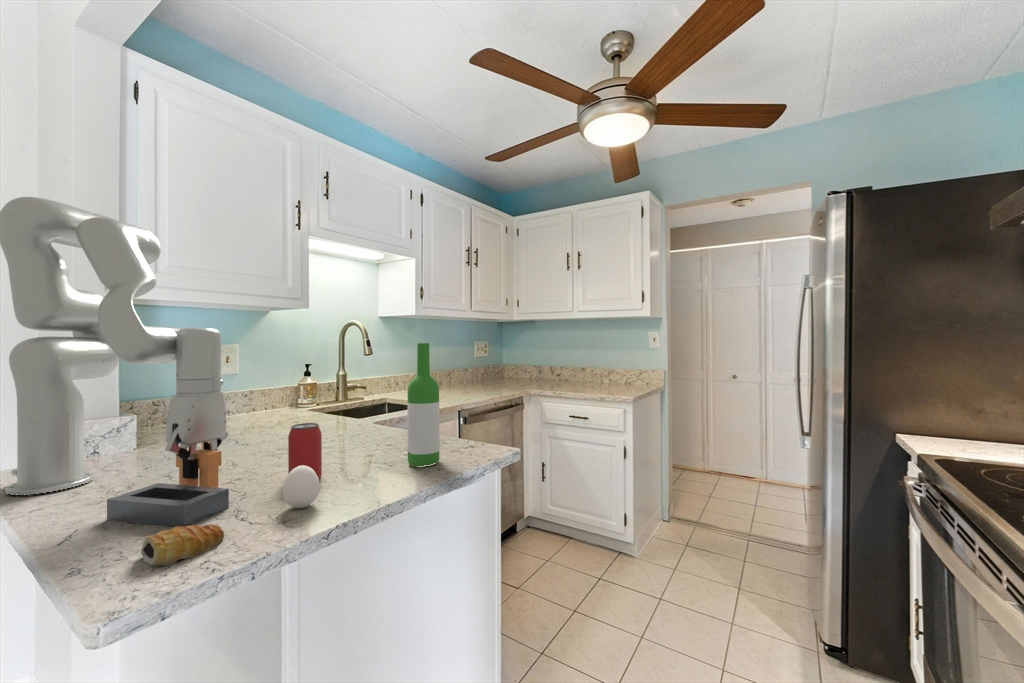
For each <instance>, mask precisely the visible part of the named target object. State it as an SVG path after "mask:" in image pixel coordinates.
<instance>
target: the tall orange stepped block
mask: <svg viewBox="0 0 1024 683" xmlns="http://www.w3.org/2000/svg"><path fill="white" fill-rule="evenodd" d="M187 450H188V451H189V448H187ZM195 459H198V478H196V479H185V478H183V460H182V459H179V456H177V455H176V454H175V467H176V468H178V471H179V472H178V475H179V476H178V485H188V486H201V487H214V488H219V467H220V466H222V450H218V451H215V450H202V449H197V448H196V457H195Z"/></svg>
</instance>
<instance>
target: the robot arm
mask: <svg viewBox="0 0 1024 683" xmlns="http://www.w3.org/2000/svg"><path fill="white" fill-rule="evenodd" d="M52 243H56V244H59V245H60V244H61V245H66V246H69V247H74V248H80V249H82V250H83V252H84V254H85V256H86V258H87V259H88V261H89V264H90V265H91V267H92V269H93V270H94V272H95V274H96V277H97V278H98V280H99V281H100V283H101V285H102V287H103V289H104V291H105V292H104V294H103V296H102V295H101V294H99V293H97V292H94V291H91V290H90V291H88V290H83V289H74V288H73V287H72V284H71V280H70V276H69V269H68V266H67V264H66V262H65V260H64V259H63V257H62V256H61V255H60V253H59V252H58V251H57V250H56V249H55V248H54V246H52ZM0 247H1V250H2V253H3V254H4V257H5V261H6V263H7V268H8V275H9V276H8V277H9V283H10V290H11V297H12V305H13V311H14V316H15V318H16V320H17V322H18V323H19V324H20V325H21V326H22V327H24V328H26V329H30V330H34V331H43V332H44V331H46V332H48V331H49V332H71V333H72V336H38V337H32V338H27V339H25V340H23V341H21V342H19V343H17V344H16V345H14V347H13V348H12V349H11V350H10V353H9V356H8V364H9V369H10V371H11V375H12V379H13V382H14V386H15V391H16V394H15V395H16V411H17V412H16V416H17V417H16V418H17V421H16V423H17V425H16V426H17V428H16V430H17V431H16V433H17V434H16V436H17V439H16V440H17V442H16V443H17V444H16V446H17V448H16V450H17V451H16V452H17V455H16V456H17V457H16V458H17V462H16V463H17V467H16V468H14V469H13V470H11V472H10V473H11V475H12V476H16V482H15V483H12V484H10V485H8V486H6V487H5V492H6V493H8V494H13V495H16V494H17V495H24V494H25V495H28V494H37V495H39V494H38V493H44V494H46V493H45V492H50V493H54V492H53V491H56V492H59V491H58V490H61V491H64V490H63V489H65V490H68V489H67V488H70V489H72V488H71V487H73V488H76V487H75V486H77V487H79V485H80V486H82V485H81V484H83V485H86V484H88V483H90V482H91V480H92V481H93V480H94V479H95V474H94V473H93V472H91V471H85V469H84V468H85V466H84V464H85V460H84V459H85V449H84V448H85V443H84V442H85V409H84V406H85V405H84V398H83V394H82V393H81V391H80V390H79V388H78V387H77V386H76V384H75V383H74V382H73V381H77V380H88V379H89V380H90V379H98V378H99V379H100V378H102V377H106V376H108V375H110V374H112V373H113V372H114V371H115V370H116V369H117V366H118V365H119V362H120V361H119V360H120V359H121V360H122V361H124V362H126V363H129V364H133V365H148V364H168V363H175V365H176V366H175V367H176V368H175V379H176V380H175V382H176V383H175V395H172V396H171V399H170V402H169V406H168V411H167V417H166V418H167V419H166V427H165V429H166V430H165V440H166V441H165V442H166V443H167V444H166V446H165V449H164V451H165V452H167V453H171V454H174V455H175V456H176V455H177V456H179V459H182V460H183V478H185V479H196V478H198V479H199V469H198V459H195V457H196V449H197V445H198V444H200V443H201V444H200V445H201V450H215V451H219V450H218V448H219V447H220V445H221V444H222V443H223V442H224V441H225V440H226V439H227V438H228V437H229V433H228V431H227V410H226V409H227V408H226V403H225V402H226V401H225V397H224V394H223V393H224V392H222V386H224V385H223V384H224V381H223V379H222V335H221V332H220V331H219V330H218V329H216V328H208V327H207V328H206V327H187V328H186V327H184V328H182V327H181V328H180V327H170V326H168V327H167V326H157V325H156V326H155V325H154V326H153V325H152V326H151V325H144V324H143V323H142V321H141V319H140V317H139V316H138V314H137V311H136V309H135V307H134V299H135V298H138V297H141V296H144V295H146V294H147V293H149V292H150V291H152V290H154V288H155V287H156V285H157V279H156V276H155V275H154V272H153V271H152V270H151V268H150V266H149V265H150V264H154V263H155V262H157V261H158V259H159V258H160V255H161V251H162V249H161V245H160V242H159V239H158V238H157V237H156V236H155V234H153V233H152V231H151V230H148V229H146V228H143V227H142V226H137V225H134V224H131V223H127V222H123V221H120V220H117V219H114V218H110V217H108V216H106V215H101V214H99V213H95V212H91V211H89V210H86V209H83V208H82V209H81V208H78V207H75V206H73V205H72V206H71V205H69V204H66V203H62V202H59V201H57V200H56V201H55V200H51V199H47V198H42V197H41V198H40V197H36V196H35V197H34V196H21V197H17V198H13V199H12V200H11V199H10V201H7V203H6V204H5V205H4V206H2V208H1V209H0ZM188 449H189V451H188ZM85 483H86V484H85ZM6 493H5V494H6ZM28 496H29V495H28Z"/></svg>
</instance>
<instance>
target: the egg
mask: <svg viewBox="0 0 1024 683" xmlns="http://www.w3.org/2000/svg"><path fill="white" fill-rule="evenodd" d="M320 487H321V486H320V478H318V476H317V475H316V473H315V471H314V470H313V469H312V468H310V467H308V466H303V465H302V466H298V467H296V468H294V469H293V470H292V471H291V472H290V473H289V474H287V475H286V477H285V480H284V482H283V486H282V495H283V499H284V501H285V502H286V503H287V505H288V506H290V507H292V508H294V509H304V508H307V507H308V506H310V505H312V503H313V502H314V501H315V500H316V499H317V497H318V495H319V492H320Z"/></svg>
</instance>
